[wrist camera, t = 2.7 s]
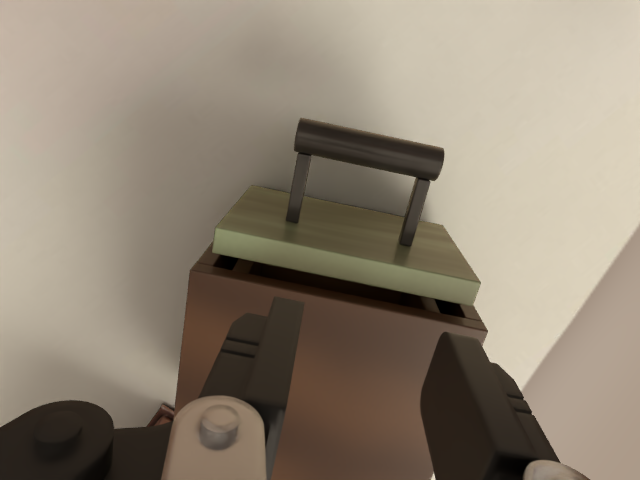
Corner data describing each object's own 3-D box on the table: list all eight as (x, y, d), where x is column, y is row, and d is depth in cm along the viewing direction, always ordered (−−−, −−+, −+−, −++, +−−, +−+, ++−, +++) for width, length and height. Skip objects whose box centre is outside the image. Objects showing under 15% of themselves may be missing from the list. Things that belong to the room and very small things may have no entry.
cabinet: (240, 206, 27) (189, 269, 18) (441, 248, 28) (488, 331, 19) (212, 397, 32) (161, 520, 23) (383, 431, 33) (397, 566, 24)
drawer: (264, 100, 24) (229, 110, 17) (468, 144, 25) (521, 172, 17) (222, 374, 31) (183, 468, 23) (385, 407, 31) (398, 510, 24)
